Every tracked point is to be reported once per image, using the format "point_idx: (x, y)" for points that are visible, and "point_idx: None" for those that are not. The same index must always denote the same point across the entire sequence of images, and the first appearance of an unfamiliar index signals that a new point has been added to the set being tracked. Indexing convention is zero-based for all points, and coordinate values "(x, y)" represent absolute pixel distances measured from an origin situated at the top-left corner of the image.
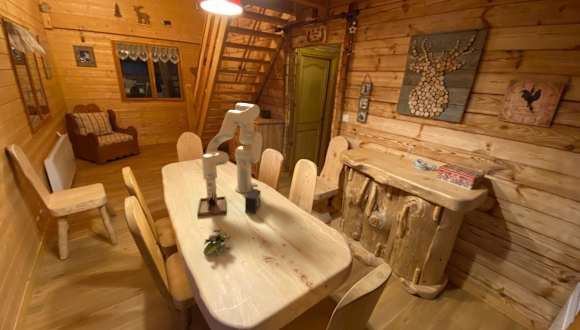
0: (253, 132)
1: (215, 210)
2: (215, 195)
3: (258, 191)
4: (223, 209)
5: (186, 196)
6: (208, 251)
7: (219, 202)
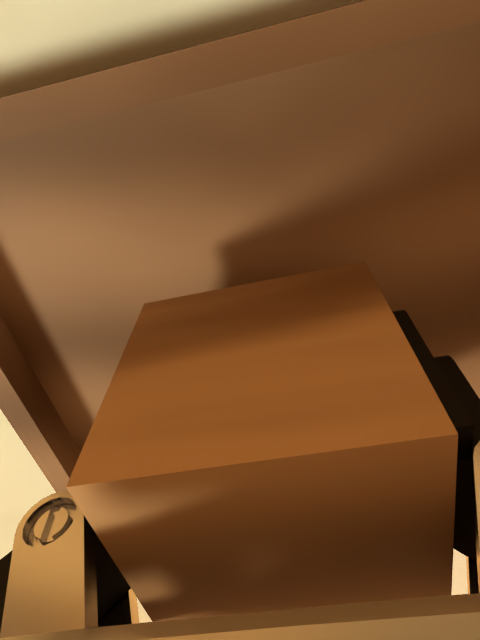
0: None
1: (466, 238)
2: (325, 477)
3: None
4: (462, 49)
5: None
6: None
7: (118, 233)
